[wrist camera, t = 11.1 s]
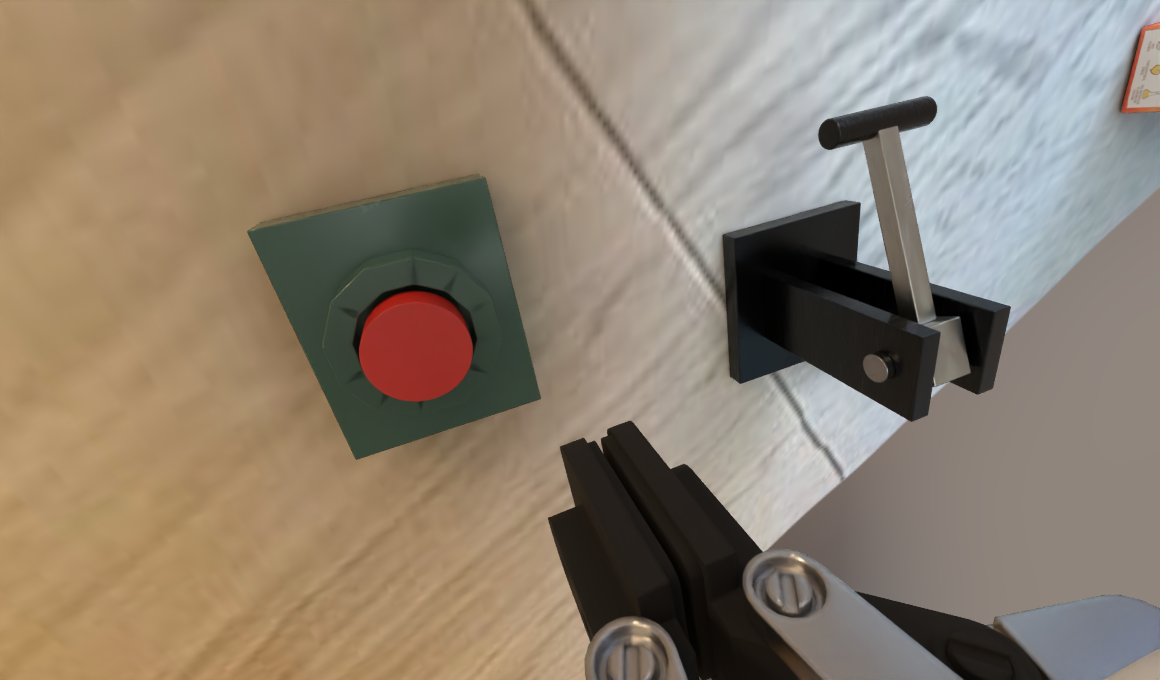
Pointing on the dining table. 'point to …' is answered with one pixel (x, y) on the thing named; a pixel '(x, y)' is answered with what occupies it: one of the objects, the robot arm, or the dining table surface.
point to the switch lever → (901, 217)
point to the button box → (386, 267)
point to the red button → (415, 346)
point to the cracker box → (1145, 74)
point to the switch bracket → (843, 313)
